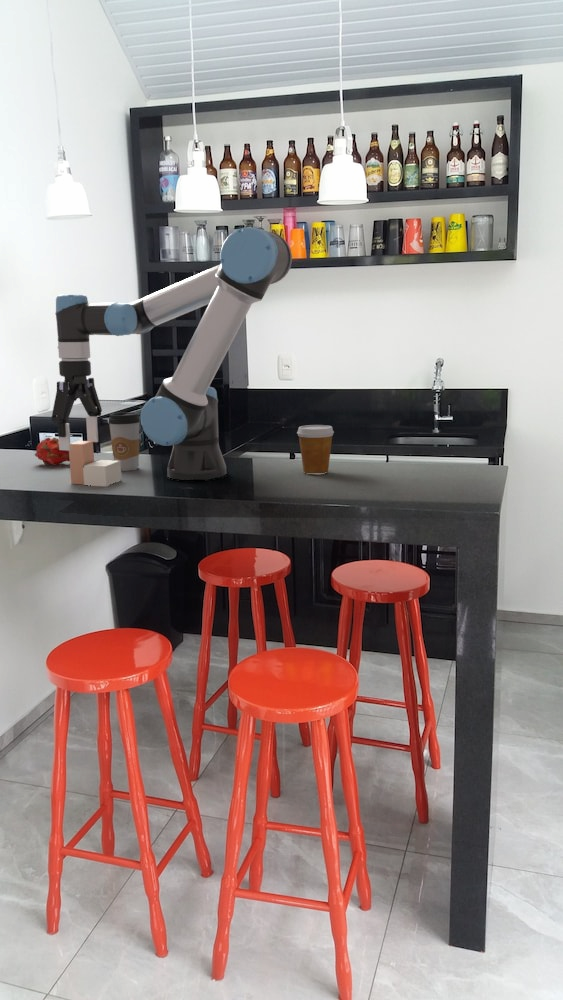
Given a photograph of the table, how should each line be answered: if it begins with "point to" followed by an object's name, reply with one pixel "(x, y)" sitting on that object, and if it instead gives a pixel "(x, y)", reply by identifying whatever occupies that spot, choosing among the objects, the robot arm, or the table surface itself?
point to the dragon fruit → (51, 452)
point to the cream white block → (102, 472)
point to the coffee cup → (125, 439)
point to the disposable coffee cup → (315, 447)
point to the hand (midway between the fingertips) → (79, 446)
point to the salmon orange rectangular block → (80, 459)
